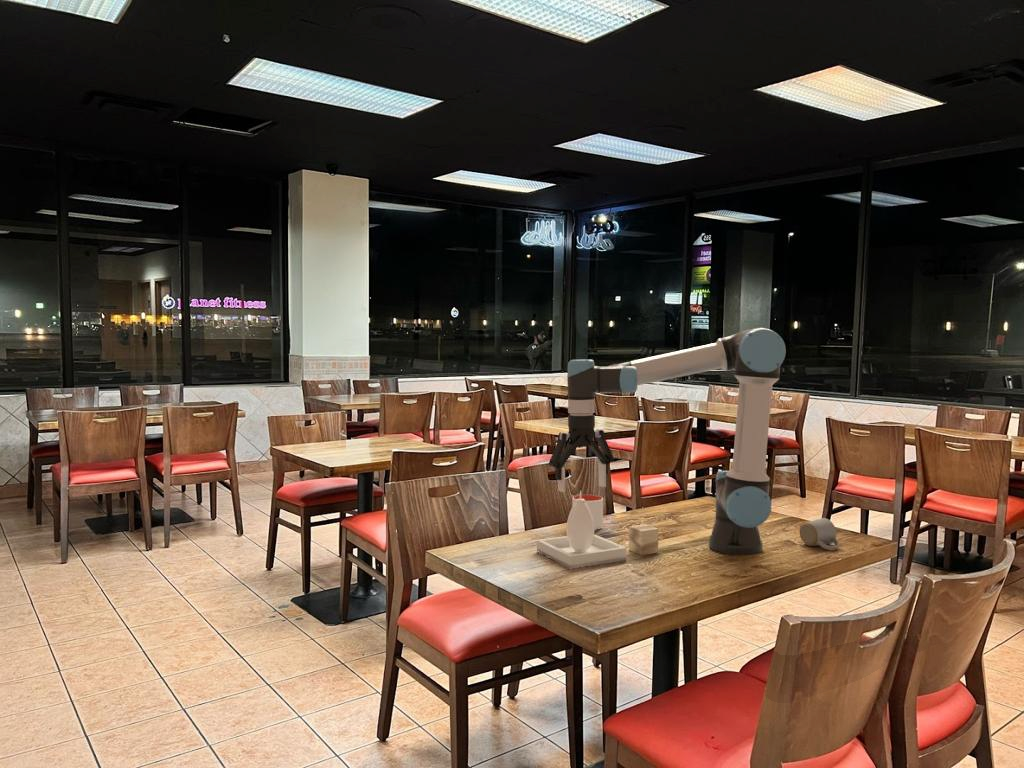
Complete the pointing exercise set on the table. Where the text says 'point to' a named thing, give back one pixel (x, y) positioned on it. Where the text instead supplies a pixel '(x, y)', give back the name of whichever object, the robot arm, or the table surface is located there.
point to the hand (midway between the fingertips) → (582, 488)
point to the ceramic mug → (819, 533)
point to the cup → (593, 508)
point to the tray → (595, 555)
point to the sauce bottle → (580, 527)
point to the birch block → (643, 539)
